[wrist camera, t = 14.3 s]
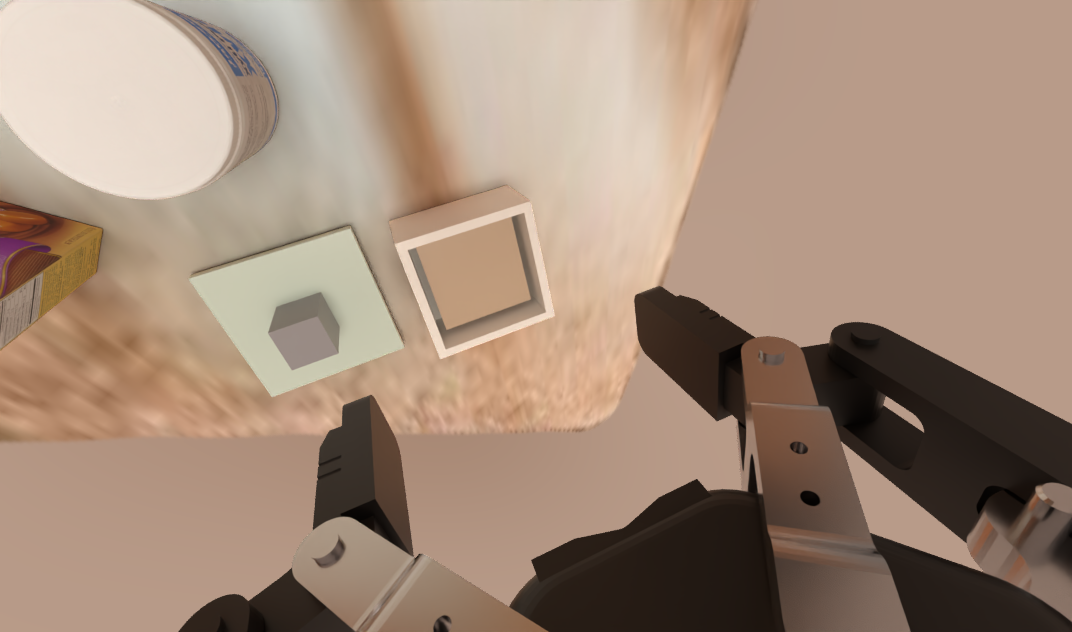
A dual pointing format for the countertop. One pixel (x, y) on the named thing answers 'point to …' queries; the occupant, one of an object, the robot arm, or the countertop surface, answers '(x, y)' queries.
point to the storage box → (475, 268)
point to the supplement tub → (131, 94)
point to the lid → (301, 310)
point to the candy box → (40, 264)
